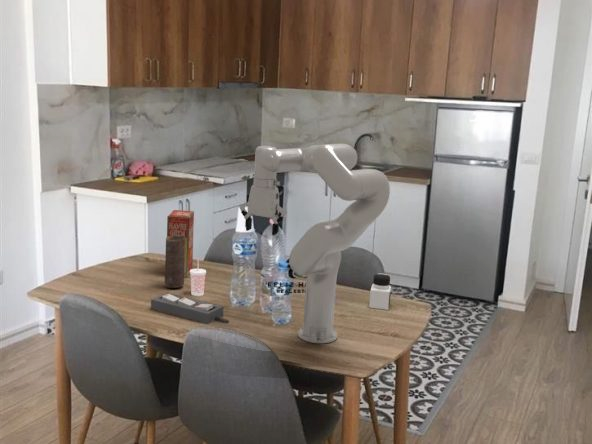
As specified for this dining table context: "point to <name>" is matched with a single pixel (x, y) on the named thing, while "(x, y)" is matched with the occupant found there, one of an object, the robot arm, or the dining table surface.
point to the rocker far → (170, 298)
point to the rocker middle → (186, 302)
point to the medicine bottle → (380, 292)
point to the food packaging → (183, 234)
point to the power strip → (188, 309)
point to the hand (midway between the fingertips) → (261, 232)
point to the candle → (174, 261)
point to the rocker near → (204, 306)
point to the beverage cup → (197, 281)
